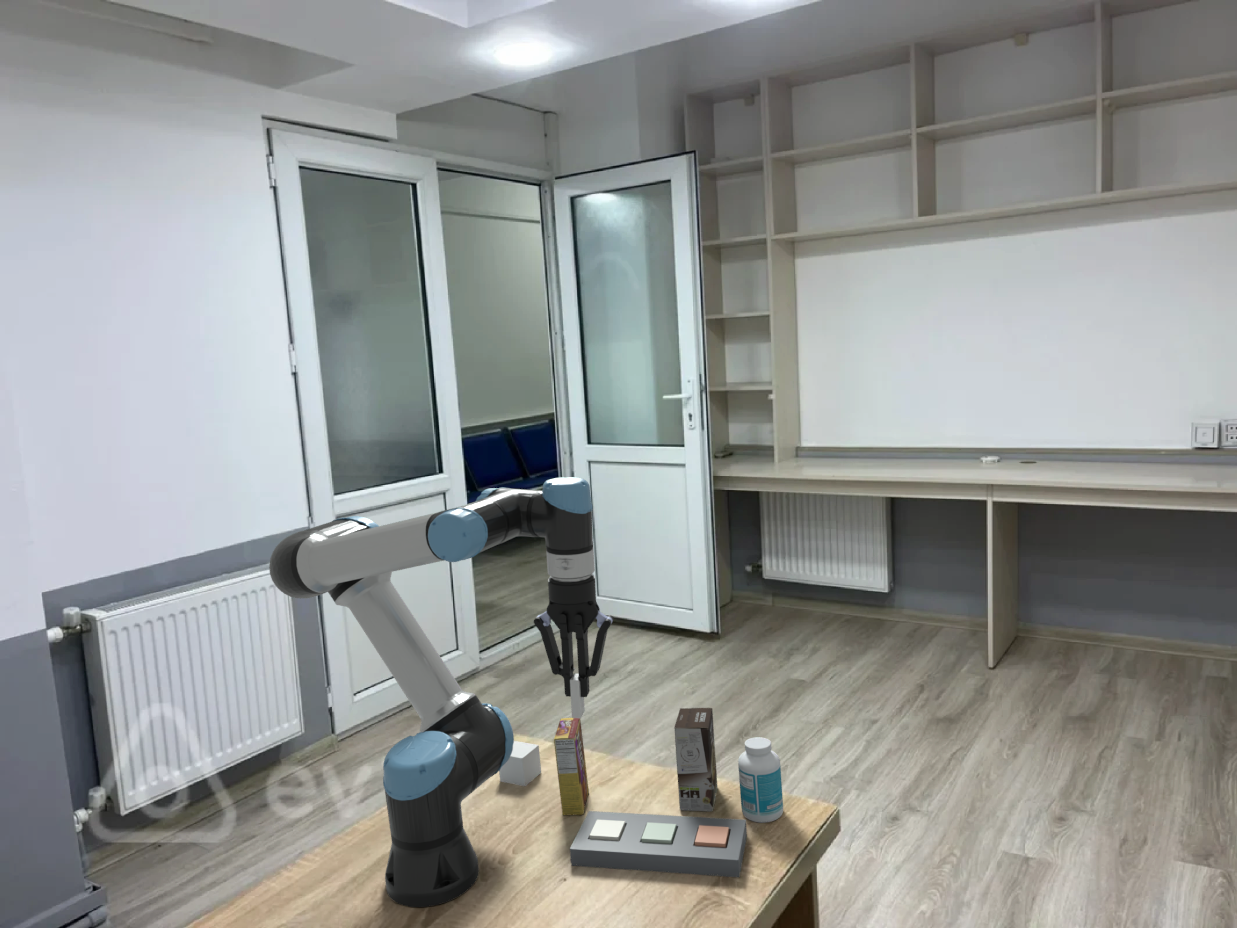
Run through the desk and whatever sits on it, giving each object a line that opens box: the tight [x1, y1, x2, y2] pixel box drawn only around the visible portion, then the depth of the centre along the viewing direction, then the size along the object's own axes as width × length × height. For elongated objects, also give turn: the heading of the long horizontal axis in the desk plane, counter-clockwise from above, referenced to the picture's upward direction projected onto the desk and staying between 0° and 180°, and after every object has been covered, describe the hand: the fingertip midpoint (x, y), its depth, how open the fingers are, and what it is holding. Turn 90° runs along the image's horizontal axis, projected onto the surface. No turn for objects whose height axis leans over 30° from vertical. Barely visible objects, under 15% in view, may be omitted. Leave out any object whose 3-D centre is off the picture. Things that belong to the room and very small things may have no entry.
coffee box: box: [673, 707, 718, 812], centre depth 170 cm, size 9×6×16 cm
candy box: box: [553, 717, 590, 816], centre depth 172 cm, size 9×4×15 cm, turn 175°
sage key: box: [641, 822, 677, 844], centre depth 155 cm, size 5×5×3 cm
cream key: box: [590, 820, 625, 841], centre depth 157 cm, size 5×5×3 cm
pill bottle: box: [737, 736, 784, 824], centre depth 164 cm, size 8×7×14 cm
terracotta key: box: [695, 825, 729, 848], centre depth 153 cm, size 5×5×3 cm
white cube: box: [498, 740, 542, 787], centre depth 185 cm, size 6×6×6 cm
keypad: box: [569, 810, 748, 878], centre depth 155 cm, size 28×12×3 cm, turn 76°
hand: (578, 714), depth 150 cm, fingers closed
